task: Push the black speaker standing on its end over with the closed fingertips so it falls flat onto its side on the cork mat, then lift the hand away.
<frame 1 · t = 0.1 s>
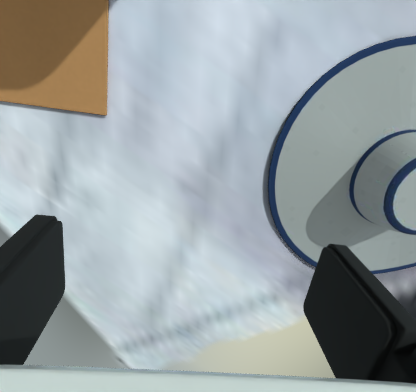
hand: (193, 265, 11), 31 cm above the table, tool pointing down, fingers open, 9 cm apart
sun hat: (387, 173, 44), on the table
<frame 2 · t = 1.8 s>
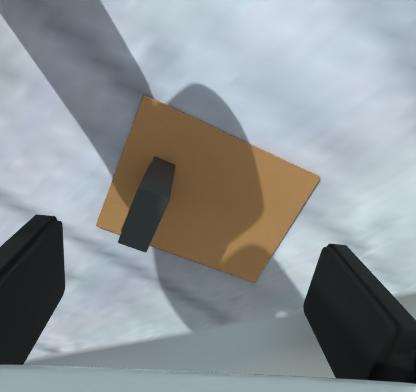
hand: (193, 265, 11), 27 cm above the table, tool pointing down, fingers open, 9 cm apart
black speaker: (156, 181, 37), resting on cork mat
cork mat: (206, 200, 38), on the table
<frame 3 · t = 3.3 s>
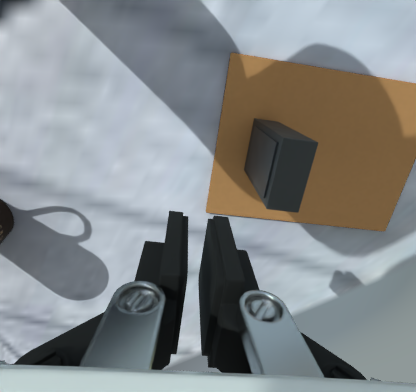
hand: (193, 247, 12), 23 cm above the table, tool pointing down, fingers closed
black speaker: (260, 146, 33), resting on cork mat
cork mat: (316, 153, 35), on the table
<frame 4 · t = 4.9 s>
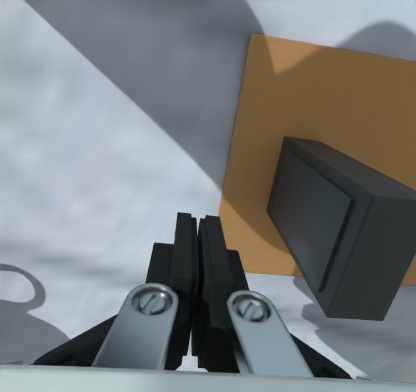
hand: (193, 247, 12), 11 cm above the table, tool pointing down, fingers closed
black speaker: (291, 177, 22), resting on cork mat
cork mat: (373, 185, 23), on the table
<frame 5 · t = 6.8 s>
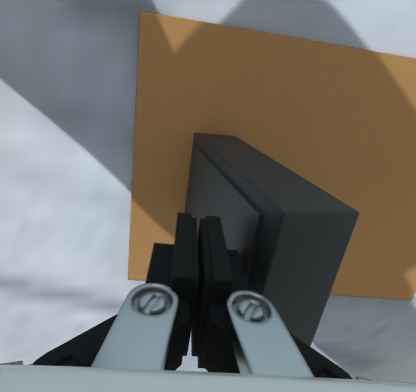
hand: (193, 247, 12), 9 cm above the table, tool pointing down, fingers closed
black speaker: (208, 178, 19), point 1 cm above the table, tilted 12°, touching cork mat
cork mat: (303, 186, 21), on the table
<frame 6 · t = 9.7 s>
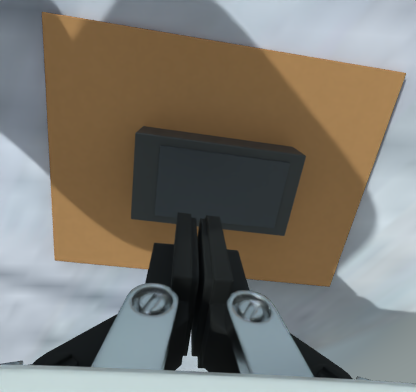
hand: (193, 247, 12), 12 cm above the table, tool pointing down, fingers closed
black speaker: (136, 172, 20), point 2 cm above the table, tilted 90°, touching cork mat
cork mat: (213, 173, 23), on the table
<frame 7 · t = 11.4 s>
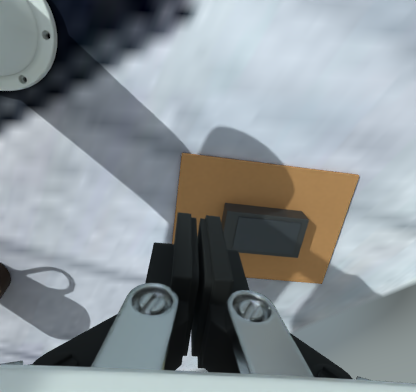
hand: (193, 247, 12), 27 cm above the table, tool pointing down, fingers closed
black speaker: (222, 226, 40), point 2 cm above the table, tilted 90°, touching cork mat
cork mat: (258, 224, 42), on the table
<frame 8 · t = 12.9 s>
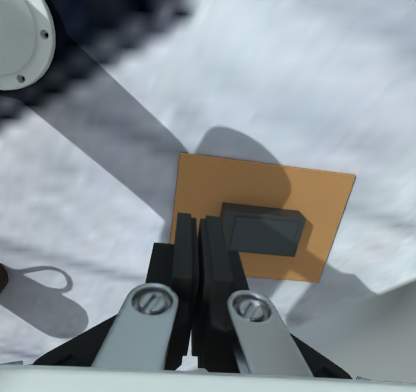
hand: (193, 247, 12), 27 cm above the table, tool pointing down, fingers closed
black speaker: (220, 225, 40), point 2 cm above the table, tilted 90°, touching cork mat
cork mat: (256, 223, 42), on the table
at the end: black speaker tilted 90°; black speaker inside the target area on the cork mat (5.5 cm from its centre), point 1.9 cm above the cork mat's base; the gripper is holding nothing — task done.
